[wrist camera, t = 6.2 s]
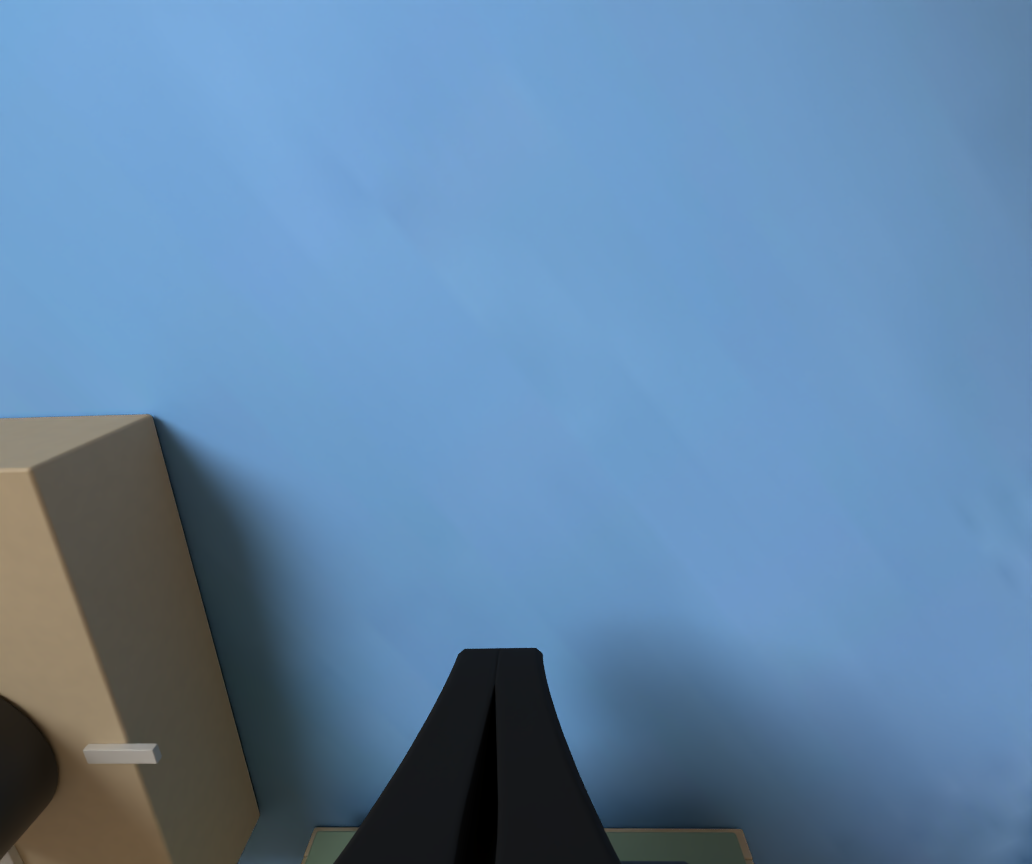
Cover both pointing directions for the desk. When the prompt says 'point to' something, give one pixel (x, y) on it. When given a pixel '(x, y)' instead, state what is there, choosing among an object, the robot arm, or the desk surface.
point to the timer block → (113, 651)
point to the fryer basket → (643, 855)
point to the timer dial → (22, 775)
